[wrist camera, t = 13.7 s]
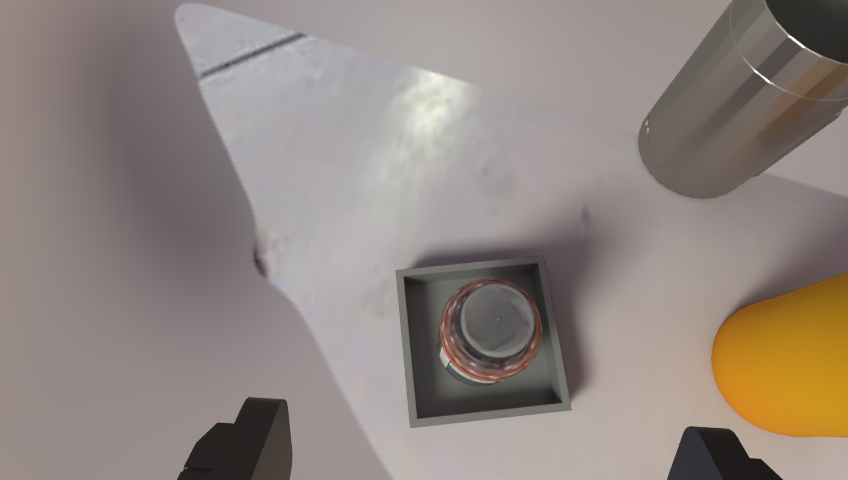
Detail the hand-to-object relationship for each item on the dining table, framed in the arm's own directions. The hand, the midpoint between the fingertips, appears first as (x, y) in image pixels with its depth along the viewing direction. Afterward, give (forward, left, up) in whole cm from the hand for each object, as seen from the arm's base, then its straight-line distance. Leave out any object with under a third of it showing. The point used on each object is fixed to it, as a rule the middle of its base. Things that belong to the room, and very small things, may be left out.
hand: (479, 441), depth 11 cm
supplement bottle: (-4, -5, -28) cm, 29 cm away
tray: (-3, -5, -29) cm, 29 cm away
